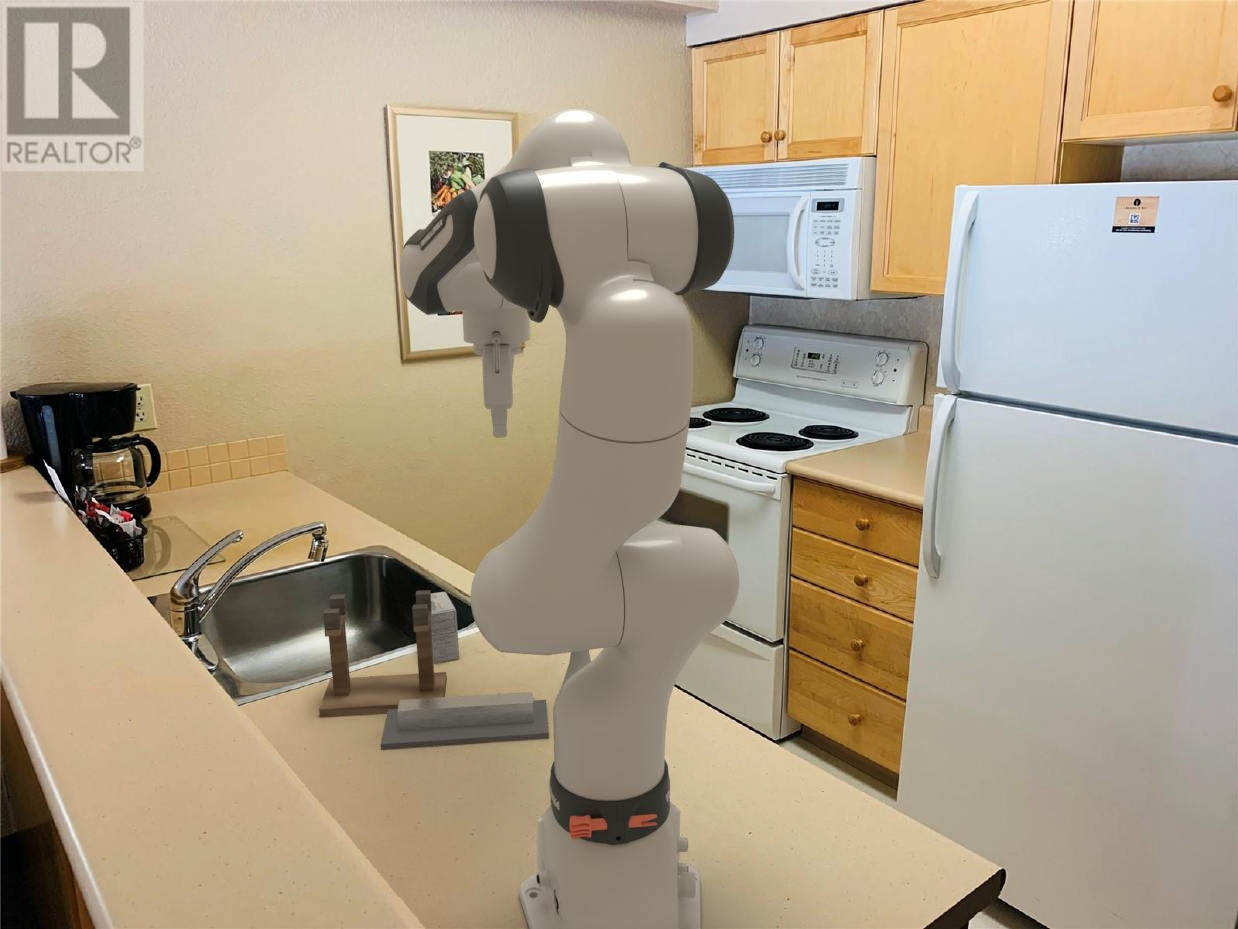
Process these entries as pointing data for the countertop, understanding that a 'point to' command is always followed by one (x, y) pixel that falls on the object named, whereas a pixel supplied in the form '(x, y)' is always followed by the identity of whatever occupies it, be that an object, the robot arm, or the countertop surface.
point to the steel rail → (465, 711)
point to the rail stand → (378, 690)
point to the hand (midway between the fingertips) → (500, 428)
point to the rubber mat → (465, 732)
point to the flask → (576, 663)
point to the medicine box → (444, 628)
